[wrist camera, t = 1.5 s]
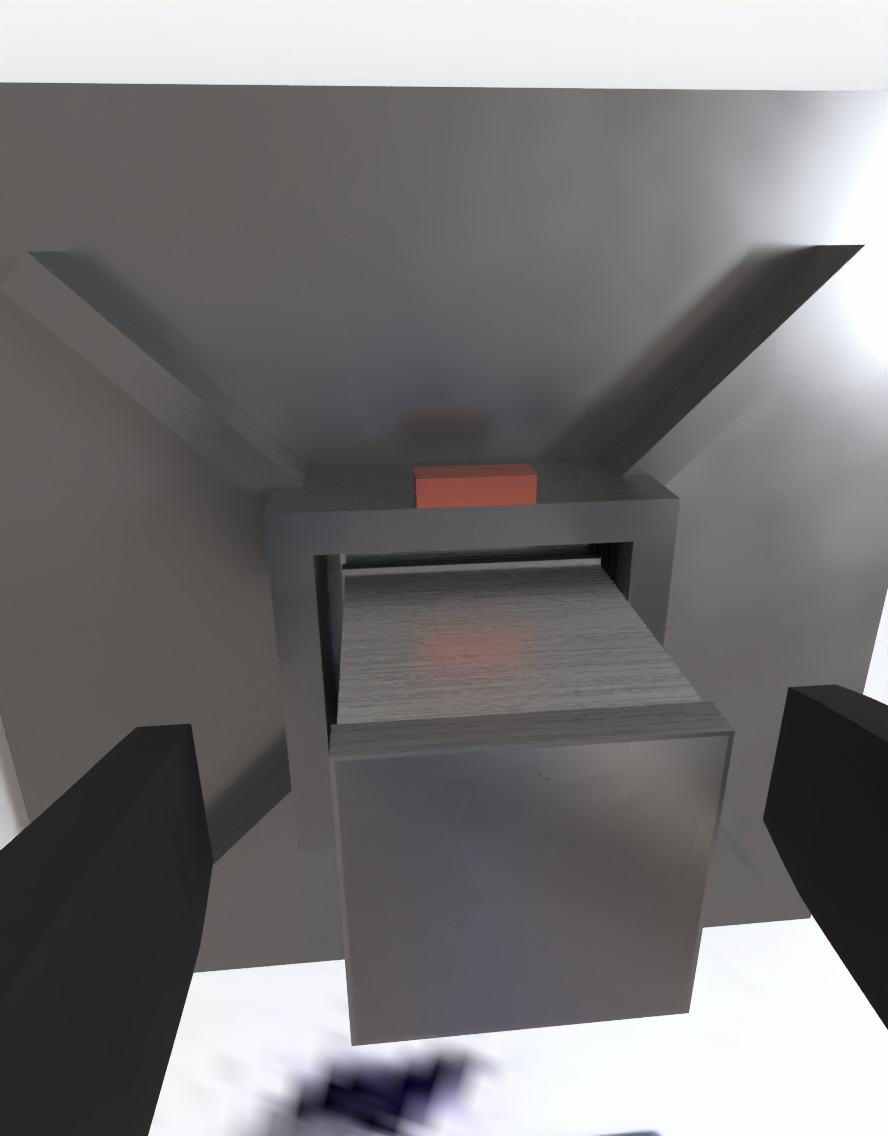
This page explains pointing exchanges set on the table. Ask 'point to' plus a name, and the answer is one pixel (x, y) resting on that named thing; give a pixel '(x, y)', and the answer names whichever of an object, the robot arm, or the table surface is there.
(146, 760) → the robot arm
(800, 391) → the stand base
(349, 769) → the grey rectangular block
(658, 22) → the table surface
